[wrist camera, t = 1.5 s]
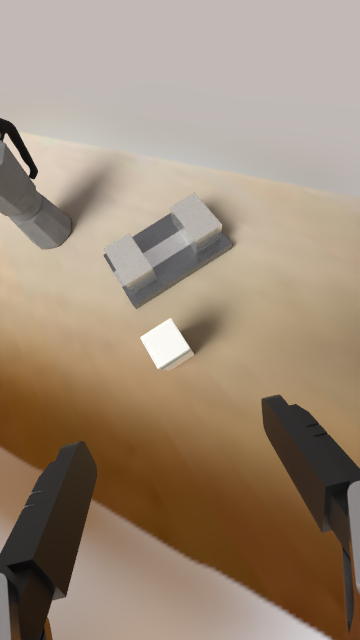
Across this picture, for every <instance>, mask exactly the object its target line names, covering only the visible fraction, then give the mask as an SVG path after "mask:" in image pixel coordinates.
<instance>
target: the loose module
mask: <svg viewBox="0 0 360 640" xmlns="http://www.w3.org/2000/svg"><path fill="white" fill-rule="evenodd" d="M140 338H141V340H142V342H143V343H144V345H145V347H146V349H147V350H148V352H149V354H150V356H151V358H152V359H153V361H154V363H155V365H156V366H157V368H158V369H161V370H162V369H163V370H172V369H174V368H175V367H177V366H178V365H180V364H182V363H183V362H185V361H186V360H188V359H189V358H191V357H192V356H194V353H193V352H192V350H191V348H190V347H189V345H188V344H187V342H186V341H185V339H184V337H183V336H182V334H181V333H180V331H179V330H178V328H177V327H176V325H175V323H174V322H173V320H172V319H171V318H170V319H168V320H166V321H165V322H163V323H162V324H160V325H159V326H157V327H156V328H154V329H152V330H151V331H149V332H148V333H146V334H145V335H143V336H141V337H140Z"/></svg>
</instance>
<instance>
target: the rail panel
mask: <svg viewBox="0 0 360 640" xmlns="http://www.w3.org/2000/svg"><path fill="white" fill-rule="evenodd" d="M170 212H171V213H170V214H169V215H167V216H165V217H164V218H162V219H161V220H159V221H157V222H156V223H154V224H153V225H151V226H149V227H148V228H146V229H144V230H143V231H141V232H140V233H138V234H136V235H135V236H133V237H131V235H130V234H129V233H128V234H127V235H125V236H124V237H122V238H120V239H119V240H117V241H116V242H114V243H112V244H111V245H109V246H108V247H106V248H104V251H105V252H106V254H104V257H105V259H106V260H107V262H108V264H109V265H110V267H111V269H112V270H113V272H114V274H115V276H116V277H117V279H118V281H119V282H120V284H121V286H122V287H123V289H124V291H125V293H126V294H127V296H128V298H129V299H130V301H131V303H132V304H133V306H134V307H135V308H136V309H137V308H138V307H140V306H142V305H143V304H145V303H146V302H148V301H149V300H151V299H153V298H154V297H156V296H157V295H159V294H160V293H162V292H164V291H165V290H167V289H168V288H170V287H172V286H173V285H175V284H176V283H178V282H179V281H181V280H183V279H184V278H186V277H187V276H189V275H190V274H192V273H194V272H195V271H197V270H198V269H200V268H201V267H203V266H205V265H206V264H208V263H209V262H211V261H212V260H214V259H216V258H217V257H219V256H220V255H222V254H224V253H225V252H227V251H228V250H230V249H231V248H232V242H231V241H230V240H229V239H228V238H227V236H226V235H225V234H224V233H223V232H222V224H221V223H220V221H219V220H218V219H217V218H216V217H215V216H214V214H213V213H212V212H211V211H210V210H209V209H208V207H207V206H206V205H205V204H204V203H203V202H202V200H201V199H200V198H199V197H198V196H197V195H196V194H195V192H194V193H193V194H191V195H190V196H188V197H186V198H185V199H183V200H181V201H180V202H178V203H177V204H175V205H173V206H172V207H170Z"/></svg>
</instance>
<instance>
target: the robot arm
mask: <svg viewBox="0 0 360 640" xmlns="http://www.w3.org/2000/svg"><path fill="white" fill-rule="evenodd" d="M262 414H263V425H264V429H265V432H266V434H267V437H268V439H269V440H270V442H271V444H272V446H273V447H274V449H275V451H276V453H277V454H278V456H279V458H280V460H281V461H282V463H283V465H284V467H285V469H286V470H287V472H288V474H289V476H290V477H291V479H292V481H293V483H294V484H295V486H296V488H297V490H298V491H299V493H300V495H301V497H302V498H303V500H304V502H305V504H306V505H307V507H308V509H309V511H310V512H311V514H312V516H313V518H314V519H315V521H316V523H317V525H318V526H319V528H320V530H321V532H326V531H330V530H333V532H334V533H335V535H336V537H337V538H338V540H339V542H340V543H341V545H340V548H341V564H342V581H343V598H344V614H345V633H346V640H360V468H359V467H358V466H357V465H356V464H355V463H354V462H353V461H352V460H351V458H350V457H349V456H348V455H347V454H346V453H345V452H344V451H343V450H342V448H341V447H340V446H339V445H338V444H337V443H336V442H335V441H334V440H333V438H332V437H331V436H330V435H328V434H327V432H326V431H325V430H324V428H323V427H322V426H321V425H319V423H318V422H317V421H316V420H315V418H314V417H313V416H312V415H311V414H310V413H309V412H308V411H306V410H305V409H303V408H301V407H300V406H298V405H297V404H294V405H290V406H289V405H288V404H287V402H286V401H285V400H284V399H283V398H282V396H280V395H274V396H270V397H266V398H262ZM96 478H97V468H96V464H95V462H94V460H93V458H92V456H91V454H90V452H89V450H88V448H87V446H86V444H85V442H83V441H80V442H76V443H72V444H68V445H64V446H63V447H62V448H61V450H60V452H59V454H58V456H57V458H56V460H55V462H51V463H50V464H49V465H48V467H47V468H46V469H45V470H44V472H43V473H42V474H41V475H40V476H39V478H38V480H37V482H36V484H35V486H34V488H33V490H32V492H31V493H32V494H31V495H30V496H29V498H28V500H27V502H26V504H25V508H24V509H23V510H22V512H21V514H20V516H19V518H18V520H17V522H16V524H15V526H14V528H13V530H12V532H11V534H10V536H9V538H8V540H7V541H6V544H5V546H4V547H3V549H2V551H1V553H0V640H52V634H51V628H50V623H49V619H48V617H47V615H48V612H49V609H50V605H51V602H52V600H56V599H60V598H64V597H66V595H67V591H68V587H69V583H70V579H71V575H72V572H73V568H74V564H75V560H76V556H77V552H78V548H79V545H80V541H81V537H82V533H83V529H84V525H85V521H86V517H87V514H88V509H89V506H90V502H91V498H92V494H93V490H94V486H95V483H96Z"/></svg>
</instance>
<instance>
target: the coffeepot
mask: <svg viewBox="0 0 360 640" xmlns="http://www.w3.org/2000/svg"><path fill="white" fill-rule="evenodd" d="M5 133H7V134H8V136H9V137H10V139H11V141H12V142H13V144H14V145H15V147H16V148H17V149H18V151H19V153H20V155H21V157H22V159H23V160H24V162H25V163H26V164H27V165H28V166H29V168H30V175H29V176H28V175H27V174H26V172H25V171H24V169H23V168H22V167H21V165H20V164H19V162H18V161H17V160H16V158H15V157H14V155H13V154H12V152H11V151H10V150H9V148H8V147H7V145H6V144H5V143H4V142H3V139H4V135H5ZM37 173H38V170H37V168H36V166H35V164H34V162H33V160H32V158H31V156H30V154H29V152H28V150H27V148H26V147H25V145H24V143H23V141H22V139H21V137H20V135H19V133H18V131H17V129H16V127H15V126H14V125H13V124H12V123H11V122H9V121H7V120H4V119H1V118H0V213H2V214H4V215H5V216H8V217H10V219H11V220H12V221H13V222H14V223H15V224H16V225H17V226H18V227H19V228H20V229H21V230H22V231H23V232H24V233H25V235H26V236H27V237H28V238H29V239H30V240H31V241H32V242H34V243H35V244H36V245H37V246H39V247H40V248H41V249H52V248H55V247H57V246H59V245H61V244H62V243H63V242H64V241H66V239H67V238H68V236H69V235H70V233H71V227H72V226H71V218H70V217H68V216H67V215H66V214H65V213H63V212H62V211H61V210H60V209H59V208H57V207H56V206H55V205H54V204H52V203H51V202H50V201H49V200H48V199H46V198H45V197H44V196H43V195H41V194H40V193H38V192H37V191H36V186H35V185H34V183H33V182H32V181H31V179H35V178H36V176H37ZM29 177H30V178H31V179H30V178H29Z"/></svg>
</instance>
